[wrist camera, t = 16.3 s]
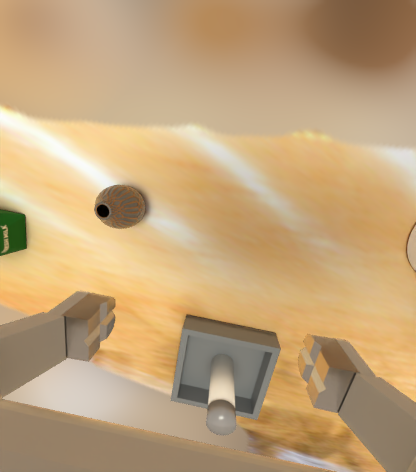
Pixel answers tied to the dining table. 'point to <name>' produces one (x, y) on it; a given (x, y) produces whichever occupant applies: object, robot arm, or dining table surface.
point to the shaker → (221, 396)
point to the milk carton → (12, 232)
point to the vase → (119, 206)
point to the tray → (241, 352)
